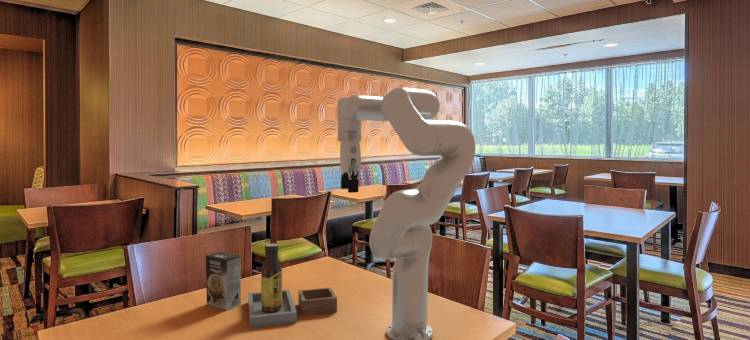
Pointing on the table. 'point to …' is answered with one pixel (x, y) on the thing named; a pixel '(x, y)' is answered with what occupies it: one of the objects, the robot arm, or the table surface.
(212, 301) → the coffee box
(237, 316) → the table surface
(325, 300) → the open wooden box frame
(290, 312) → the tray
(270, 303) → the sauce bottle
